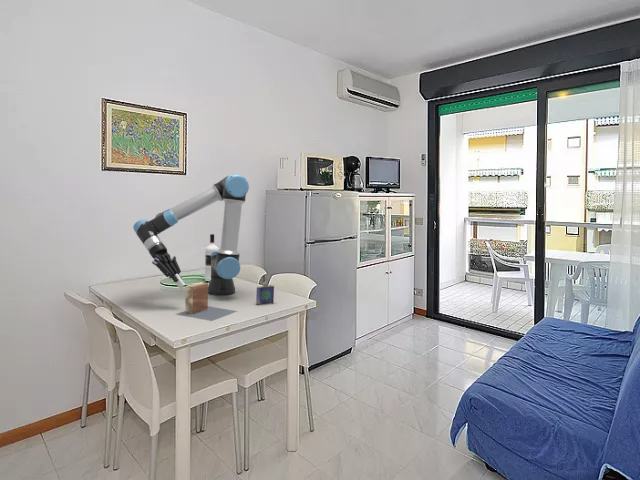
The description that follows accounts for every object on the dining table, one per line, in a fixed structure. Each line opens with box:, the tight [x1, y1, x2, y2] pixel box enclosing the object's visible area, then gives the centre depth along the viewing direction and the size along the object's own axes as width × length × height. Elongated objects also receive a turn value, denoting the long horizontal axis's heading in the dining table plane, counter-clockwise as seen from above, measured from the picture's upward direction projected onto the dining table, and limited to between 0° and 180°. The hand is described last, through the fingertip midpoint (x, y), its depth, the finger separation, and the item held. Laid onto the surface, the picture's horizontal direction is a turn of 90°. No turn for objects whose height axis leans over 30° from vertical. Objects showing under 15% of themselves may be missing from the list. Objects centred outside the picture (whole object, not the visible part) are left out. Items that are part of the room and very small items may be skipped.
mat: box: [176, 305, 238, 322], centre depth 177 cm, size 20×18×1 cm
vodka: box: [203, 233, 220, 279], centre depth 249 cm, size 9×9×30 cm
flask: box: [255, 282, 275, 306], centre depth 198 cm, size 9×3×11 cm, turn 121°
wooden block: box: [184, 282, 209, 314], centre depth 178 cm, size 4×10×12 cm, turn 156°
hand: (182, 286), depth 181 cm, fingers closed
